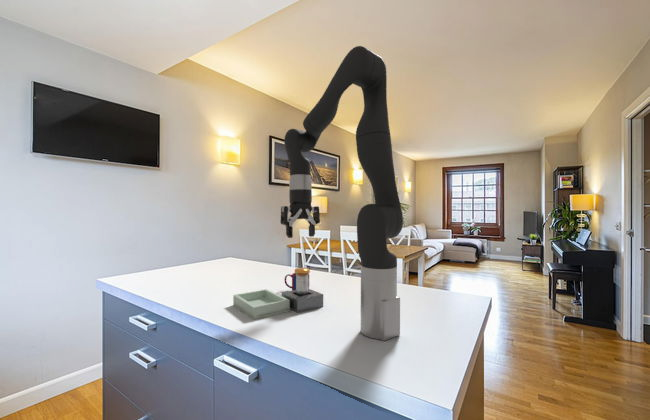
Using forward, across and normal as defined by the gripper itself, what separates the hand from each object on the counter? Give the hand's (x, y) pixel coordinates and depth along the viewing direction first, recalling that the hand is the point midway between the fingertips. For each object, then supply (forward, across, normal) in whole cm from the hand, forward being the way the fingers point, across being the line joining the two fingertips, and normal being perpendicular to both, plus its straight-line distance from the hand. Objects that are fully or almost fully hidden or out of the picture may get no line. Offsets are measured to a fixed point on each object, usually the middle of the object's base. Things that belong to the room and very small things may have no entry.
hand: (301, 237), depth 101 cm
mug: (+22, +7, +15) cm, 28 cm away
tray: (+22, -13, +4) cm, 26 cm away
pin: (+22, -1, -1) cm, 23 cm away
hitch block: (+22, -1, -1) cm, 23 cm away
